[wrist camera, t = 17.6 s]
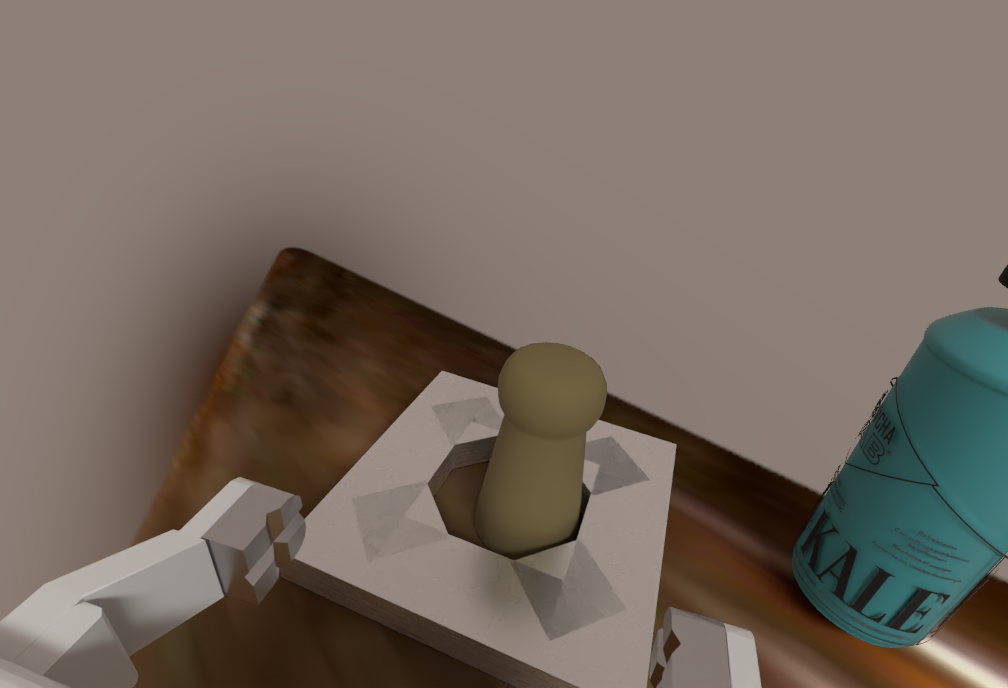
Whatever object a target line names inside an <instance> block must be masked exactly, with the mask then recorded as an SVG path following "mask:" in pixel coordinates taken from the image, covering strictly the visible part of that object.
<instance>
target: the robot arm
mask: <svg viewBox="0 0 1008 688" xmlns="http://www.w3.org/2000/svg"><path fill="white" fill-rule="evenodd" d="M302 507H303V506H302V502H301V498H300V496H298V495H295V494H292V493H288V492H285V491H282V490H279V489H276V488H273V487H270V486H266V485H263V484H261V483H258V482H254V481H251V480H248V479H245V478H241V477H238V478H236V479H234V480H232V481H230V482H229V483H228V484H227V485H226V486H225V487H224V488H223V489H222V490H221V491H220V492H219V493H218V494H217V495H216V496H215V497H214V498H213V499H212V500H211V501H209V502H208V503H207V504H206V505H205V506H204V507H203V508H202V509H201V510H200V511H199V512H198V513H197V514H196V515H195V516H194V517H193V518H192V519H191V520H190V521H189V522H188V523H187V524H186V525H185V526H184V527H183V528H182V529H181V530H179V531H178V530H174V529H173V530H170V531H168V532H166V533H163V534H161V535H159V536H156V537H154V538H152V539H149V540H147V541H145V542H142V543H140V544H137V545H135V546H133V547H130V548H128V549H126V550H123V551H121V552H119V553H116V554H114V555H111V556H109V557H107V558H104V559H102V560H100V561H97V562H95V563H93V564H90V565H88V566H86V567H84V568H81V569H79V570H76V571H74V572H71V573H69V574H67V575H64V576H62V577H60V578H57V579H55V580H53V581H50V582H48V583H46V584H44V585H43V586H42V587H41V588H39V589H38V590H37V591H36V592H35V593H34V594H32V595H31V596H30V597H29V598H28V599H26V600H25V601H24V602H23V603H22V604H21V605H19V606H18V607H17V608H16V609H15V610H14V611H12V612H11V613H10V614H9V615H8V616H7V617H5V618H4V619H3V620H2V621H1V622H0V688H133V687H134V686H135V685H136V683H137V682H138V672H137V671H136V669H135V667H134V665H133V663H132V662H131V660H130V658H129V656H131V655H132V654H134V653H136V652H137V651H139V650H140V649H142V648H143V647H145V646H147V645H148V644H150V643H151V642H153V641H155V640H156V639H158V638H159V637H161V636H162V635H164V634H166V633H167V632H169V631H170V630H172V629H174V628H175V627H177V626H178V625H180V624H181V623H183V622H185V621H186V620H188V619H189V618H191V617H193V616H194V615H196V614H197V613H199V612H201V611H202V610H204V609H205V608H207V607H208V606H210V605H212V604H213V603H215V602H216V601H218V600H220V599H221V598H223V597H224V594H225V595H228V596H231V597H234V598H238V599H241V600H244V601H247V602H250V603H253V604H256V605H259V604H260V602H261V601H262V600H263V598H264V597H265V596H266V594H267V593H268V592H269V591H270V589H271V588H272V587H273V585H274V584H275V583H276V581H277V580H278V578H279V568H280V567H281V566H283V565H285V564H287V563H289V562H291V561H292V560H293V558H294V557H295V556H296V554H297V553H298V551H299V550H300V548H301V545H302V543H303V541H304V538H305V533H306V523H305V519H304V518H303V517H302V516H301V515H300V513H299V510H300V509H301V508H302ZM650 682H651V683H652V685H653V687H654V688H762V687H761V680H760V673H759V666H758V659H757V653H756V646H755V639H754V636H753V634H752V632H751V631H749V630H747V629H743V628H740V627H736V626H732V625H729V624H725V623H722V622H721V621H718V620H715V619H711V618H708V617H704V616H701V615H697V614H694V613H690V612H687V611H683V610H680V609H676V608H673V607H669V608H668V609H667V610H666V612H665V615H664V620H663V628H662V629H659V630H658V632H657V634H656V637H655V640H654V645H653V649H652V654H651V664H650Z"/></svg>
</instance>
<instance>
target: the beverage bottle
mask: <svg viewBox="0 0 1008 688" xmlns="http://www.w3.org/2000/svg"><path fill="white" fill-rule="evenodd" d="M999 281H1000V283H1001V284H1002V285H1004V286H1005V287H1006V288H1008V265H1007V267H1006V268H1005V269H1004V271H1003V272H1002V274H1001V275H1000V277H999ZM893 379H896V382H895V384H894V385H893V384H892V382H890V383H891V385H892V388H891V390H890V392H889V393H888V395H887V397H886V398H885V400H884V402H883V403H882V405H881V406H880V404H881V402H880V401H882V400H883V398H884V396H885V395H886V394H884V395H883V397H882V400H881V399H880V400H879V402H878V403H877V405H879V407H880V408H879V407H877V405H876V407H875V409H874V410H876V411H877V409H878V408H879V410H878V411H877V413H876V411H873V413H874V412H875V413H876V414H872V418H873V417H874V418H873V419H872V421H871V423H870V420H869V421H868V422H869V425H868V426H867V427H866V428H867V429H866V428H865V429H866V431H865V432H863V436H862V434H861V433H859V435H860V434H861V439H860V441H859V442H858V444H857V445H856V447H855V449H854V450H853V452H852V454H851V455H850V457H849V458H848V460H847V462H845V465H844V466H843V468H842V470H841V471H840V473H839V474H838V476H837V478H836V479H835V481H833V482H830V484H829V486H828V487H827V489H826V490H825V491H824V492H823V494H822V496H823V495H824V494H825V493H826V491H827V490H828V489H829V487H830V486H831V488H830V489H829V491H828V492H827V494H826V496H825V497H824V499H823V501H822V502H821V504H820V505H819V507H818V509H817V508H815V506H816V505H817V503H818V502H819V500H820V499H821V498H822V496H821V497H820V499H819V500H818V501H817V503H816V505H815V506H814V508H815V509H816V512H814V511H815V509H814V508H813V510H812V511H811V512H812V514H811V513H810V514H811V515H810V516H809V517H810V518H808V520H807V521H808V522H809V520H810V522H809V523H807V522H806V523H807V524H808V525H807V527H806V525H804V524H803V525H804V527H805V529H804V531H803V530H802V531H803V533H802V535H801V536H800V538H799V540H798V541H797V537H796V540H795V539H794V540H795V541H796V542H797V543H795V544H796V545H795V548H794V551H792V557H793V558H792V568H793V572H794V576H795V578H796V581H797V583H798V584H799V586H800V588H801V590H802V591H803V593H804V594H805V595H806V597H807V598H808V599H809V601H810V602H811V603H812V604H813V605H814V606H815V607H816V608H817V609H818V610H819V611H820V612H821V613H822V614H823V615H824V616H825V617H826V618H828V619H829V620H830V621H831V622H832V623H834V624H835V625H837V626H838V627H839V628H841V629H843V630H844V631H846V632H847V633H849V634H851V635H853V636H855V637H856V638H859V639H861V640H863V641H865V642H868V643H871V644H874V645H878V646H882V647H887V648H902V647H907V646H913V644H915V645H919V644H918V643H919V642H920V641H922V640H923V639H925V638H926V637H927V636H928V635H929V634H930V633H932V632H931V631H932V630H933V629H934V628H935V627H936V626H937V625H938V624H939V623H940V622H941V621H942V620H943V619H944V618H945V617H946V616H947V615H948V614H950V615H951V614H952V613H953V612H956V611H955V610H956V609H957V608H958V607H959V606H960V605H961V604H963V602H964V601H963V602H962V603H961V604H960V605H959V606H958V607H957V608H956V609H955V610H954V611H953V612H952V613H950V612H951V611H952V610H953V609H954V607H955V606H956V605H957V604H958V603H959V602H960V601H961V600H962V599H963V598H964V597H965V596H966V595H967V594H968V593H969V592H970V591H971V590H972V589H973V588H974V587H975V586H976V585H977V584H978V582H979V581H980V580H981V579H982V578H983V577H984V576H985V575H986V574H987V573H988V572H989V571H990V570H991V569H992V568H993V567H994V566H995V565H996V564H997V563H998V561H1000V560H1001V559H1002V557H1003V556H1004V557H1005V558H1007V559H1008V557H1007V556H1006V555H1005V554H1006V553H1007V552H1008V309H1004V308H993V307H987V308H979V309H974V310H968V311H965V312H961V313H957V314H953V315H949V316H946V317H943V318H940V319H938V320H936V321H934V322H932V323H931V324H930V325H929V327H928V328H927V330H926V331H925V334H924V339H923V340H922V342H921V344H920V345H919V347H918V348H917V350H916V352H915V353H914V355H913V356H912V358H911V360H910V361H909V363H908V364H907V366H906V367H905V369H904V371H903V372H902V374H901V375H900V376H899V377H898V379H897V377H895V378H892V380H893ZM887 392H888V391H887ZM887 392H886V393H887ZM874 415H875V416H874ZM868 422H867V423H868ZM866 425H867V424H866ZM864 427H865V426H864ZM865 429H864V430H865ZM864 430H863V431H864ZM839 467H840V466H839ZM838 470H839V468H838ZM838 472H839V471H838ZM834 478H835V477H834ZM813 512H814V515H813ZM812 515H813V517H812ZM802 527H803V526H802ZM801 529H802V528H801ZM801 529H800V530H801ZM802 531H800V532H802ZM793 543H794V542H793ZM792 549H793V545H792ZM1003 559H1004V558H1003ZM1001 561H1002V560H1001ZM1001 561H1000V562H1001ZM1000 562H999V563H1000ZM999 563H998V564H999ZM996 567H997V566H996ZM992 571H993V570H992ZM992 571H991V572H992ZM991 572H990V573H991ZM990 573H989V574H990ZM989 574H988V575H989ZM988 575H987V576H988ZM993 575H994V574H993ZM987 576H986V577H987ZM986 577H985V578H986ZM985 578H984V579H985ZM989 578H990V577H989ZM989 578H988V579H989ZM984 579H983V580H984ZM983 580H982V581H983ZM982 581H981V582H982ZM981 582H980V583H981ZM986 582H987V581H986ZM979 585H980V584H979ZM979 585H978V586H979ZM978 586H977V587H978ZM977 587H976V588H975V589H974V590H976V589H978V588H977ZM981 587H982V586H981ZM979 589H980V588H979ZM974 590H973V591H974ZM973 591H972V592H973ZM972 592H971V593H972ZM971 593H970V594H971ZM975 593H976V592H975ZM970 594H969V595H970ZM969 595H968V596H969ZM972 595H973V594H972ZM972 595H971V596H972ZM968 596H967V597H966V598H968ZM966 598H965V599H966ZM965 599H964V600H965ZM970 599H971V598H970ZM966 600H967V599H966ZM968 600H969V599H968ZM965 603H966V601H965ZM961 607H963V606H962V605H961ZM961 607H960V609H961ZM958 610H959V609H958ZM958 610H957V611H958ZM956 613H957V612H956ZM956 613H955V614H956ZM955 614H953V615H955ZM950 615H949V616H948V617H946V618H948V619H946V618H945V619H946V620H947V621H949V620H950V618H949V617H950ZM953 615H951V616H952V617H953ZM946 620H945V621H946ZM945 621H944V622H943V623H942V624H944V623H945ZM946 623H947V622H946ZM942 624H941V625H942ZM941 625H940V626H941ZM940 626H939V627H940ZM942 626H943V625H942ZM938 629H939V628H938ZM940 629H941V628H940ZM936 631H938V630H936ZM933 632H935V631H933ZM935 634H936V633H935ZM935 634H933V635H932V636H934V635H935ZM932 636H931V637H932ZM932 638H933V637H932ZM932 638H931V639H932ZM928 641H929V640H928ZM926 642H927V641H926ZM916 643H917V644H916ZM924 643H925V642H924ZM921 644H922V643H921Z"/></svg>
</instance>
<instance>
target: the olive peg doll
mask: <svg viewBox="0 0 1008 688" xmlns="http://www.w3.org/2000/svg"><path fill="white" fill-rule="evenodd" d="M606 396H607V384H606V381H605V378H604V375H603V373H602V371H601V368H600V366H599V365H598V364H597V363H596V362H595V360H594V359H593V358H591V357H590V356H588V355H587V354H585V353H584V352H582V351H580V350H578V349H575V348H573V347H571V346H567V345H563V344H559V343H547V342H546V343H536V344H530V345H527V346H524V347H521V348H519V349H518V350H517V351H515V352H514V353H513V354H512V355H511V356H510V357H509V358H508V359H507V360H506V362H505V364H504V366H503V368H502V370H501V372H500V375H499V379H498V398H499V404H500V407H501V409H502V411H503V413H504V417H503V420H502V423H501V427H500V430H499V433H498V436H497V439H496V443H495V446H494V449H493V452H492V455H491V459H490V462H489V465H488V468H487V471H486V474H485V478H484V481H483V484H482V487H481V490H480V494H479V497H478V500H477V503H476V506H475V510H474V526H475V528H476V531H477V534H478V536H479V538H480V540H481V541H482V542H483V543H484V545H485V546H486V547H487V548H488V549H489V551H492V552H494V553H497V554H499V555H502V556H504V557H507V558H509V559H512V560H517V559H521V558H524V557H527V556H530V555H533V554H536V553H539V552H542V551H545V550H548V549H551V548H554V547H557V546H560V545H563V544H566V543H569V542H572V541H575V540H577V535H578V529H579V518H580V506H581V494H582V482H583V470H584V458H585V445H586V433H587V431H589V430H590V429H591V428H592V427H593V426H594V424H595V423H596V422H597V421H598V419H599V417H600V416H601V414H602V412H603V409H604V405H605V401H606Z"/></svg>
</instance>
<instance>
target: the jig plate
mask: <svg viewBox="0 0 1008 688" xmlns="http://www.w3.org/2000/svg"><path fill="white" fill-rule="evenodd" d="M503 417H504V413H503V411H502V409H501V407H500V404H499V398H498V388H495V387H492V386H489V385H486V384H483V383H480V382H476V381H473V380H470V379H467V378H464V377H460V376H457V375H454V374H451V373H448V372H445V371H441V372H440V373H439V374H438V376H437V377H436V378H435V379H434V380H433V381H432V382H431V383H430V384H429V385H428V386H427V387H426V389H425V390H424V391H423V392H422V393H421V394H420V395H419V396H418V397H417V398H416V399H415V400H414V401H413V403H412V404H411V405H410V406H409V407H408V408H407V409H406V410H405V411H404V412H403V413H402V414H401V416H400V417H399V418H398V419H397V420H396V421H395V422H394V423H393V424H392V425H391V426H390V427H389V428H388V430H387V431H386V432H385V433H384V434H383V435H382V436H381V437H380V438H379V439H378V440H377V441H376V443H375V444H374V445H373V446H372V447H371V448H370V449H369V450H368V451H367V452H366V453H365V454H364V455H363V457H362V458H361V459H360V460H359V461H358V462H357V463H356V464H355V465H354V466H353V467H352V468H351V470H350V471H349V472H348V473H347V474H346V475H345V476H344V477H343V478H342V479H341V480H340V481H339V483H338V484H337V485H336V486H335V487H334V488H333V489H332V490H331V491H330V492H329V493H328V494H327V495H326V497H325V498H324V499H323V500H322V501H321V502H320V503H319V504H318V505H317V506H316V507H315V508H314V510H313V511H312V512H311V513H310V514H309V515H308V516H307V517H306V518H305V523H306V533H305V538H304V541H303V543H302V545H301V548H300V550H299V551H298V553H297V554H296V556H295V557H294V558H293V560H292V561H291V562H289V563H287V564H285V565H283V566H281V567H280V568H279V569H280V575H281V577H282V578H284V579H286V580H288V581H291V582H293V583H295V584H297V585H299V586H301V587H303V588H306V589H308V590H310V591H312V592H314V593H316V594H318V595H321V596H323V597H325V598H327V599H329V600H331V601H333V602H335V603H338V604H340V605H342V606H344V607H346V608H348V609H350V610H353V611H355V612H357V613H359V614H361V615H363V616H365V617H368V618H370V619H372V620H374V621H376V622H378V623H380V624H382V625H385V626H387V627H389V628H391V629H393V630H395V631H397V632H400V633H402V634H404V635H406V636H408V637H410V638H412V639H415V640H417V641H419V642H421V643H423V644H425V645H427V646H430V647H432V648H434V649H436V650H438V651H440V652H442V653H444V654H447V655H449V656H451V657H453V658H455V659H457V660H459V661H462V662H464V663H466V664H468V665H470V666H472V667H474V668H477V669H479V670H481V671H483V672H485V673H487V674H489V675H491V676H494V677H496V678H498V679H500V680H502V681H504V682H506V683H509V684H511V685H513V686H515V687H517V688H646V686H647V678H648V670H649V662H650V654H651V646H652V638H653V630H654V622H655V614H656V606H657V598H658V590H659V582H660V573H661V565H662V557H663V549H664V541H665V533H666V525H667V517H668V509H669V501H670V493H671V485H672V477H673V469H674V461H675V453H676V445H677V444H673V443H670V442H667V441H664V440H661V439H658V438H654V437H651V436H648V435H645V434H642V433H638V432H635V431H632V430H629V429H626V428H623V427H619V426H616V425H613V424H610V423H607V422H604V421H600V420H598V421H597V422H596V423H595V424H594V426H593V427H592V428H591V429H590V430H589V431H587V433H586V445H585V458H584V470H583V482H582V494H581V506H580V511H581V513H582V514H583V516H584V518H583V521H582V524H581V527H580V530H579V534H578V537H577V540H575V541H572V542H569V543H566V544H563V545H560V546H557V547H554V548H551V549H548V550H545V551H542V552H539V553H536V554H533V555H530V556H527V557H524V558H521V559H517V560H512V559H509V558H507V557H504V556H502V555H499V554H497V553H494V552H492V551H489V550H487V549H484V548H482V547H479V546H477V545H474V544H472V543H469V542H467V541H464V540H462V539H459V538H457V537H454V536H452V535H449V534H448V532H447V530H446V528H445V525H444V523H443V520H442V518H441V516H440V513H439V511H438V508H437V506H436V503H435V501H434V499H433V498H434V496H435V495H436V493H437V492H438V490H439V489H440V487H441V486H442V484H443V483H444V481H445V480H446V478H447V477H448V475H449V474H450V472H451V471H452V469H454V468H459V467H463V466H467V465H471V464H476V463H480V462H484V461H488V460H490V459H491V455H492V452H493V449H494V446H495V443H496V439H497V436H498V433H499V430H500V427H501V423H502V420H503Z"/></svg>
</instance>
